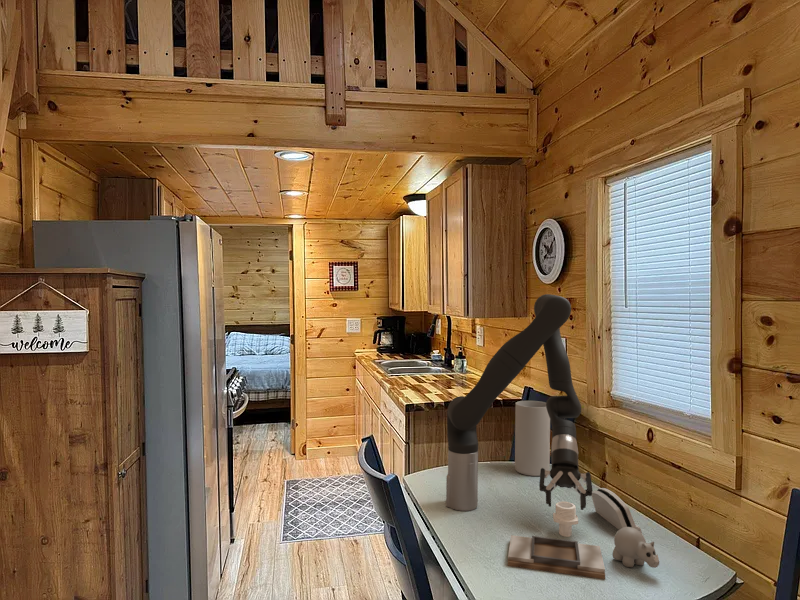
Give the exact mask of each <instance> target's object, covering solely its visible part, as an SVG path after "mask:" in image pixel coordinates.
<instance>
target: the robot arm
mask: <svg viewBox="0 0 800 600" xmlns="http://www.w3.org/2000/svg"><path fill="white" fill-rule="evenodd" d="M533 311H534V315H535V317H534V318H533V320H532V321H531V322H530V323H529V325H527V327H526V328H524V329H523V330H522V331H519V332H518V333H517V334H516V335H514V336H512V337H511V338H510V339H509V340H507V341H505V343H503V345H502V346H501V347H500V348H499V349H498V350H497V351H496V352H495V354H494V355H493V356H492V357H491V358H490V360H489V361H488V363H487V365H486V366H485V368H484V370H483V372H482V374H481V376H480V378H479V379H478V381H477V383H476V384H475V386H474V387H473V388H472V389H471V390H470V391H469V392H468V393H467V394H466V395H465V396H463V395H461V396H457V397H455V398H453V399H452V400H450V402H449V404H448V407H447V412H446V413H447V414H446V420H447V421H446V423H447V424H446V425H447V426H446V427H447V429H446V430H447V431H446V433H447V434H446V435H447V450H448V451H447V455H448V456H447V475H446V478H445V479H446V483H445V485H446V486H445V487H446V490H445V492H446V495H445V496H446V497H445V498H446V499H445V500H446V501H445V507H446V508H449V509H453V510H456V511H461V512H462V511H463V512H465V511H467V512H469V511H473V510H476V509H477V508H478V502H479V501H478V500H479V499H478V497H479V496H478V495H479V493H478V492H479V491H478V489H479V488H478V487H479V441H478V433H477V425H479V423H480V422H481V420H482V418H484V416H485V414H486V413H487V411H488V410H489V409H490V407H491V405H492V404H493V403H494V402H495V400H496V399H497V398H498V397H499V396H500V395H501V394H502V393H503V392H504V391H505V390H506V389H507V387H508V386H509V385H510V384H511V383H512V382H513V380H514V379H516V377H517V376H518V375H520V373H521V372H522V370H523V369H524V368H525V367H526V366H527V364H528V363H529V362H530V361H531V360H532V359H533V357H534V356H535V355H536V354H537V353H538V351H540V349H541V348H542V346H543V350H544V351H543V352H544V356H545V363H546V368H547V369H546V371H547V377H548V384H549V387H550V388H551V389H552V390H554V391H559V392H563V393H564V394H565V395H552V396H549V397H548V399H547V400H546V402H545V403H546V408H547V412H548V414H549V417H550V425H551V430H552V431H551V434H552V435H551V439H552V440H551V445H550V452H551V454H550V455H551V456H550V457H551V468H550V471H547V470H545V469H544V468H541V471H540V476H539V490H538V491H540V492H543V493H545V504H546V505H548V507H550V508H551V507H552V492H553V491H554V490H555V489H556V488H557V487H559V488H567V489H572V488H573V489H574V490H575V492H577V493H578V494H579V495H580V496H579V501H580V502H579V503H580V504H579V505H580V510H581V511H584V509H586V507H587V497H588V496H589V497H592V496H591V495H592V492H593V491H594V490H593V483H592V476H591V475H592V474H591V473H590V472H589V471H587V472H586V473H581V472H580V470H579V449H578V443H577V428H576V424H575V423H574V422H573V421H571V420H569V419H576V418H578V417H579V416H580V415H581V413H582V404H581V402H580V399H579V397H578V395H577V393H576V390H575V387H574V384H573V378H572V371H571V370H572V369H571V365H570V359H569V356H568V354H567V351H566V347H565V346H564V342H563V339H562V335H561V329H560V328H561V327H563V325H565V323H567V321H568V320H569V318H570V316H571V313H572V306H571V302H570V301H569V300H568V299H567V298H565V297H563V296H560V295H556V294H551V293H550V294H547V293H546V294H542V295H540V296H539V297H538V298H537V299H536V300H535V302H534V305H533ZM549 476H550V477H551V480H550V482H549V483H548V484H547V485H545V480H546V479H547V478H548V477H549ZM580 479H582V480H583V482H584V483H585V484H586V489H585V488H584V487H583V486H582V484H581V483H580Z"/></svg>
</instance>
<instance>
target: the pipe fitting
mask: <svg viewBox="0 0 800 600" xmlns="http://www.w3.org/2000/svg"><path fill="white" fill-rule="evenodd" d="M576 513H577V512H576V505H575V504H574V503H572V502H570V501H558V502H556V503H555V512H553V513H552V518H553V522H554V523H557V524H558V527H559V528H558V533H559V535H560V536H562V537H565V538H566V537H567V538H568V537H571V536H572V532H573V531H572V530H573V529H572V526H573V525H579V517H578V515H577V514H576Z"/></svg>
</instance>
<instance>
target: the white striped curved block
mask: <svg viewBox="0 0 800 600" xmlns="http://www.w3.org/2000/svg"><path fill="white" fill-rule="evenodd" d="M590 497H591V499H592V502H593V506H594V509H595V512H596V513H597V514H598V515H599V516H601V517H602V518H603V519H604V520H606V521H607V522H608V523H609V524H611V525H612V526H613V527H614V528H616V529H617V531H618V530H620V529H621V528H624V527H632V528H635V529H637V530H638V531H639V532H641V533H642V528H641V527H639V526H638V525H637V524H636V523H635V521H634V518H633V516H632V513H631V510H630V508H629V506H628V505H627V504H626V503H625V501H623V500H622V499H621V498H620V496H618V495H617V494H616V493H615V492H613V491H611V490H610V489H608V488H605V487H601V488H597V490H593V491H592V495H591V496H590ZM642 534H643V533H642Z"/></svg>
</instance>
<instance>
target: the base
mask: <svg viewBox="0 0 800 600" xmlns="http://www.w3.org/2000/svg"><path fill="white" fill-rule="evenodd" d="M507 566H508V567H514V568H521V569H529V570H536V571H543V572H550V573H558V574H564V575H565V574H566V575H572V576H579V577H587V578H592V579H600V580H606V568H605V564H604V559H603V555H602V550H601V546H600V545H593V544H585V543H578V541H577V540H570V539H562V538H554V537H553V538H552V537H544V536H537V535H531V537H530V536H529V537H527V536H520V535H513V534H511V535H510V541H509V548H508V555H507Z"/></svg>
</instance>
